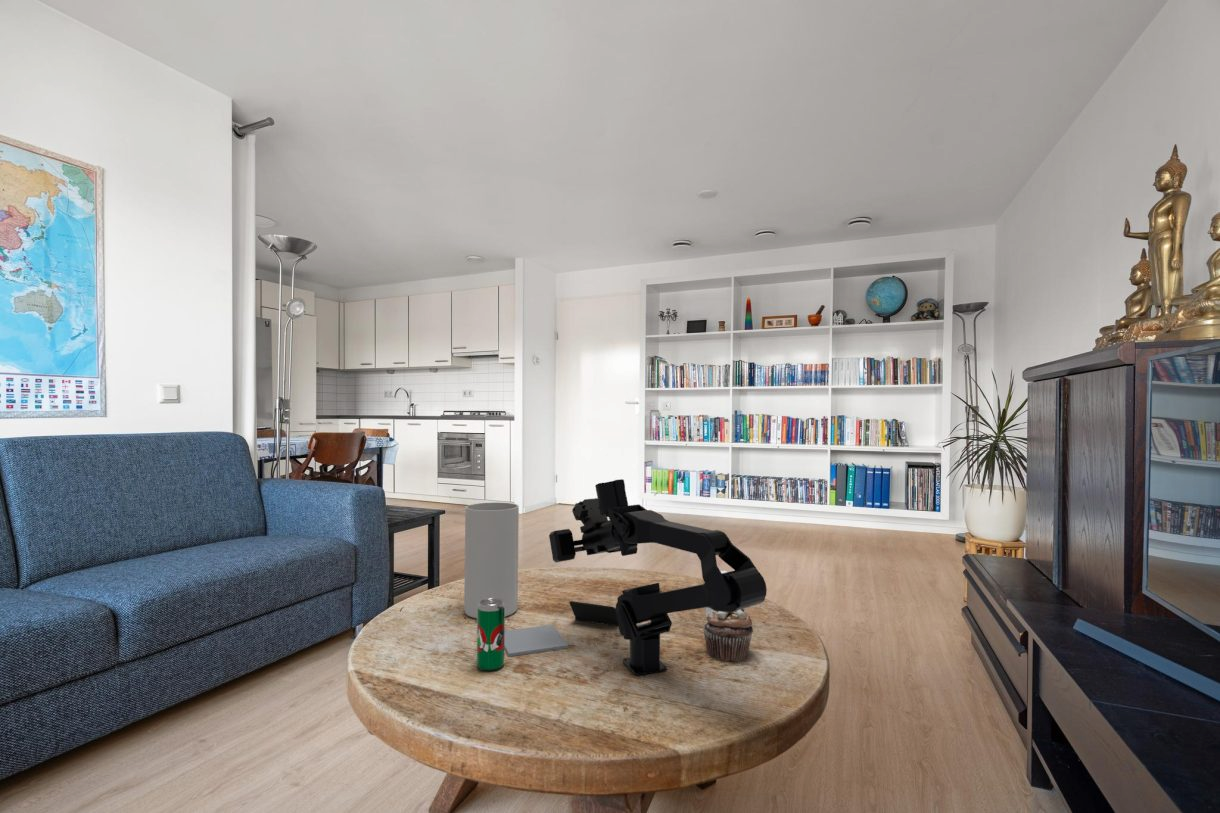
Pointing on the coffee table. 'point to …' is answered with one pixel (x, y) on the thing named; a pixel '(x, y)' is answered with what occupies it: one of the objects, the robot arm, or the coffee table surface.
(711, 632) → the cupcake
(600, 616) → the handheld gaming console
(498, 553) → the cylinder vase
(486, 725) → the coffee table surface
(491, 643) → the soda can
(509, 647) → the slate mat
